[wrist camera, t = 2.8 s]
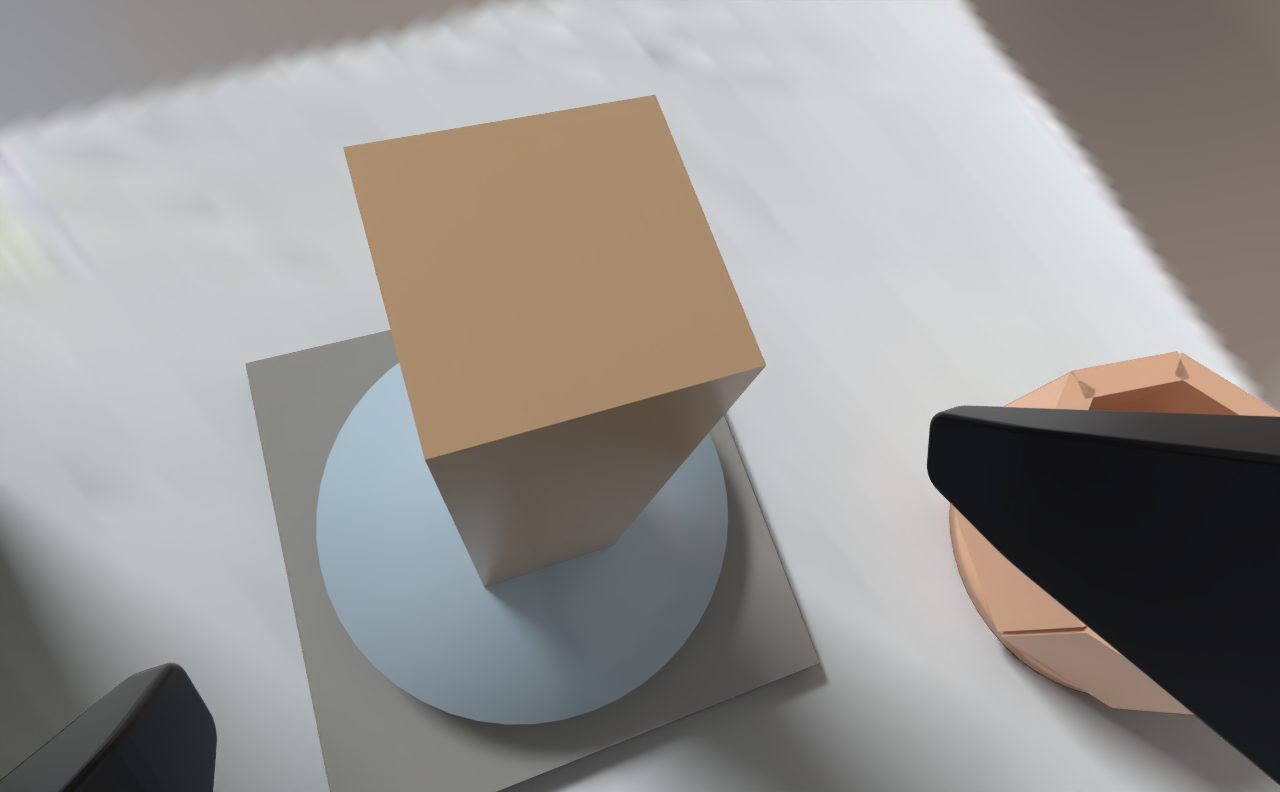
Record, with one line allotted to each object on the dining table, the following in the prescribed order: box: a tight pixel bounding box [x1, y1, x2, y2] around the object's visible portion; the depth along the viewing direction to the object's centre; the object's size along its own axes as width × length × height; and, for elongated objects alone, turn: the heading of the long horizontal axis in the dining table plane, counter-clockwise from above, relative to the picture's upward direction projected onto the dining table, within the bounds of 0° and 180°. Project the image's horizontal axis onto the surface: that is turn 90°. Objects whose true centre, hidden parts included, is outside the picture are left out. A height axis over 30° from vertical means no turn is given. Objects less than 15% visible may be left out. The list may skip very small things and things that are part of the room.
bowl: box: [949, 352, 1280, 715], centre depth 20 cm, size 9×9×4 cm
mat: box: [246, 330, 819, 792], centre depth 20 cm, size 12×12×1 cm
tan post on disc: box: [316, 95, 766, 724], centre depth 13 cm, size 10×10×13 cm
